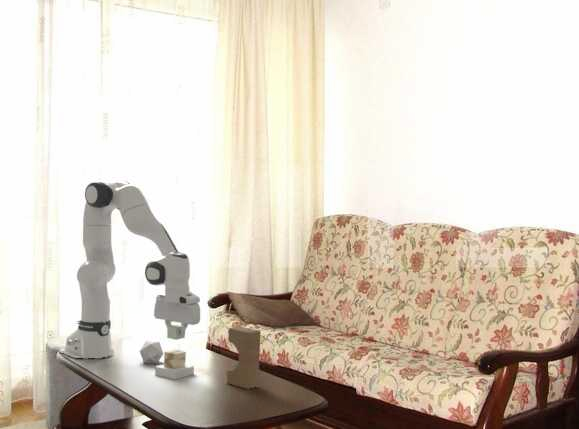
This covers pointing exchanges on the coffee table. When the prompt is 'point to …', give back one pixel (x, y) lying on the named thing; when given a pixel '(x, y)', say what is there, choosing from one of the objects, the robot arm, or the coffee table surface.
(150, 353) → the die
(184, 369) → the foundation slab
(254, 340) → the decorative block
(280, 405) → the coffee table surface
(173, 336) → the sage cube
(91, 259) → the robot arm
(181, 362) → the beech cube
